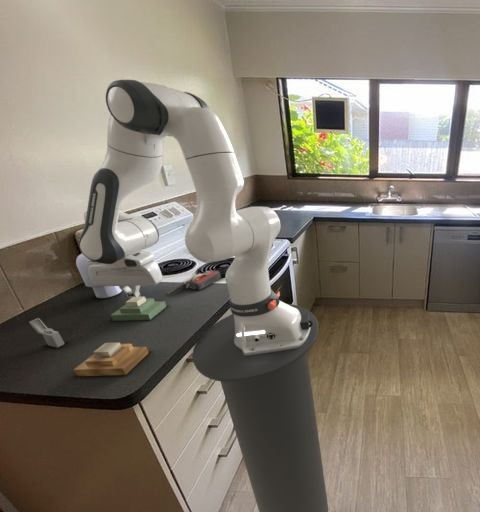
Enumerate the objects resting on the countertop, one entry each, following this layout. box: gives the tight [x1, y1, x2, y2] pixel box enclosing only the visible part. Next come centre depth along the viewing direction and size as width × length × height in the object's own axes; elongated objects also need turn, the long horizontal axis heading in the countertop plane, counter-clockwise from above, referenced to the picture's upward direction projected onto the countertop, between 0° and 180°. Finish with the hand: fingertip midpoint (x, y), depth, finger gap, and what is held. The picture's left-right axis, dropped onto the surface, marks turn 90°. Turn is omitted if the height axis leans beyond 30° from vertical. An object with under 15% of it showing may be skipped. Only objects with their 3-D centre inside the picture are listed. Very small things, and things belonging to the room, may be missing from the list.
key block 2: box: [73, 343, 149, 377], centre depth 75 cm, size 12×8×4 cm, turn 92°
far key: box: [125, 295, 146, 307], centre depth 96 cm, size 4×4×2 cm
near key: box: [93, 342, 122, 358], centre depth 74 cm, size 4×4×2 cm
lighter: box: [29, 317, 65, 349], centre depth 82 cm, size 7×2×8 cm, turn 75°
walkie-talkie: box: [165, 269, 222, 296], centre depth 115 cm, size 9×4×20 cm
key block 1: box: [110, 297, 167, 322], centre depth 97 cm, size 12×8×4 cm, turn 92°
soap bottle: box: [75, 233, 123, 299], centre depth 105 cm, size 10×10×24 cm
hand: (133, 296), depth 95 cm, fingers closed
